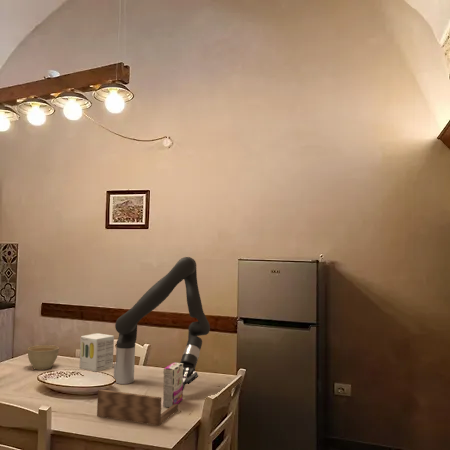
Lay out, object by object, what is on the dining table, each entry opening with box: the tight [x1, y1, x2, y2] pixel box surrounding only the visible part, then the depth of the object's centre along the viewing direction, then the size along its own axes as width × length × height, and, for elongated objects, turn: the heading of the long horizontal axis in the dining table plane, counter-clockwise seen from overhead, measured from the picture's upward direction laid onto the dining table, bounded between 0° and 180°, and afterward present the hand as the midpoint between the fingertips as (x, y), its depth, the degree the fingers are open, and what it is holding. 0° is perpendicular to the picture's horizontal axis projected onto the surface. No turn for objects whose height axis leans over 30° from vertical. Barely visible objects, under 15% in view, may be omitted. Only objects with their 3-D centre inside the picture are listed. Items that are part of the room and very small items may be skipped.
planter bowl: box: [27, 344, 60, 371], centre depth 256 cm, size 16×16×11 cm
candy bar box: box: [162, 362, 184, 409], centre depth 202 cm, size 11×5×16 cm, turn 164°
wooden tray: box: [96, 389, 179, 426], centre depth 190 cm, size 27×18×10 cm, turn 72°
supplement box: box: [79, 332, 115, 372], centre depth 259 cm, size 13×13×18 cm
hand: (179, 391), depth 208 cm, fingers closed
